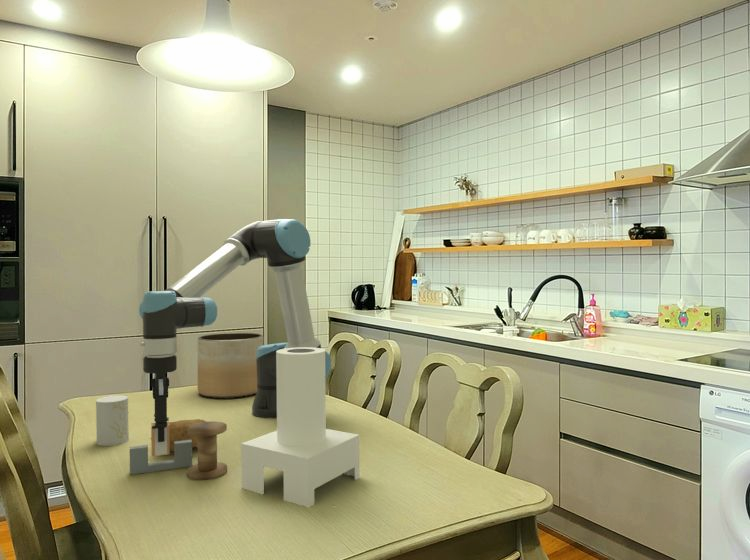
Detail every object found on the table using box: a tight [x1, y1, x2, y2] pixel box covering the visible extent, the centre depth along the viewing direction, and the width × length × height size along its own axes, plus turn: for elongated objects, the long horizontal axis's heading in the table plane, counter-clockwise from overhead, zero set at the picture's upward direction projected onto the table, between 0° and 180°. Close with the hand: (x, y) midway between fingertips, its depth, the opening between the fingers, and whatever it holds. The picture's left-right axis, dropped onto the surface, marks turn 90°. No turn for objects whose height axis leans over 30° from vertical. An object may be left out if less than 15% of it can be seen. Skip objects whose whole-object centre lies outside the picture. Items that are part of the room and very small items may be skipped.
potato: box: [168, 418, 207, 452], centre depth 149 cm, size 10×14×8 cm
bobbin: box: [187, 420, 228, 481], centre depth 132 cm, size 9×9×11 cm
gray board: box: [129, 440, 193, 476], centre depth 135 cm, size 14×2×6 cm, turn 113°
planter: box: [197, 332, 264, 399], centre depth 218 cm, size 25×25×22 cm
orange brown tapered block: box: [150, 421, 170, 457], centre depth 135 cm, size 4×4×7 cm
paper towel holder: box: [240, 347, 361, 508], centre depth 125 cm, size 19×19×30 cm
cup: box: [95, 395, 130, 447], centre depth 157 cm, size 8×8×12 cm
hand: (160, 451), depth 135 cm, fingers closed on orange brown tapered block, 4 cm apart
